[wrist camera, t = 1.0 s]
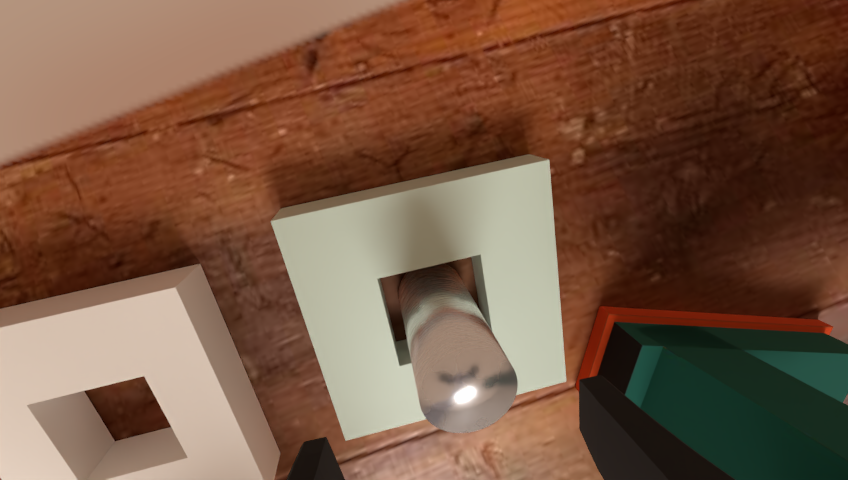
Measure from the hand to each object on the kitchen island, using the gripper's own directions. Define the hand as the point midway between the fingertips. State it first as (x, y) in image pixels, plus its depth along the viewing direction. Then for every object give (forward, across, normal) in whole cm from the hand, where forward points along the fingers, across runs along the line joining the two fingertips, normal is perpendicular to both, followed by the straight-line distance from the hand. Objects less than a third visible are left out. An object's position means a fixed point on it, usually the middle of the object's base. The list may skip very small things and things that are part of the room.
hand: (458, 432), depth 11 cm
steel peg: (+13, 0, +4) cm, 13 cm away
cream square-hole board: (+11, +18, +5) cm, 22 cm away
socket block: (+12, 0, +4) cm, 13 cm away
